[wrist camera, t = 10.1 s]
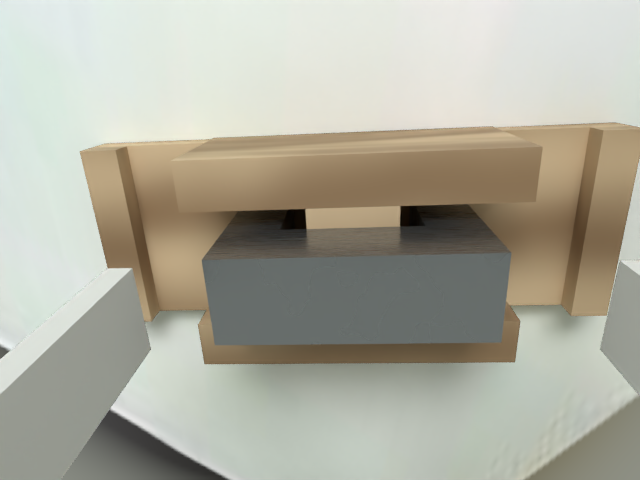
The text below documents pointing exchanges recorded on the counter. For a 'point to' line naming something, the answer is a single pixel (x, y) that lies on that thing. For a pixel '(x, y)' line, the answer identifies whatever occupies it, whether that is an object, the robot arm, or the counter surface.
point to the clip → (357, 281)
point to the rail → (373, 213)
